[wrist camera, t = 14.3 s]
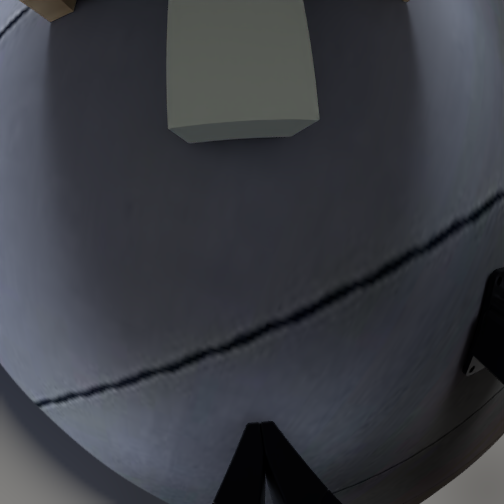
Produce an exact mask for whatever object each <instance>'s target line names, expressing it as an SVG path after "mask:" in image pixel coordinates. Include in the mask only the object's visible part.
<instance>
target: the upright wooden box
mask: <svg viewBox="0 0 504 504" xmlns="http://www.w3.org/2000/svg"><path fill="white" fill-rule="evenodd" d="M19 1H21V2H22V3H24V4H25V5H27V6H28V7H30V8H31V9H33V10H34V11H35V12H37V13H38V14H40V15H41V16H43V17H44V18H45V19H47V20H48V21H50V22H52V21H54V20H56V19H58V18H60V17H62V16H65V15H67V14H69V13H71V12H74V8H75V4H76V0H19ZM403 1H405V2H408V1H409V0H403Z"/></svg>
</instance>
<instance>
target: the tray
mask: <svg viewBox="0 0 504 504" xmlns="http://www.w3.org/2000/svg"><path fill="white" fill-rule="evenodd" d="M166 84H167V120H168V129H169V130H170V131H172V132H173V133H175V134H176V135H177V136H179V137H180V138H182V139H183V140H185V141H186V142H187V143H189V144H190V143H199V142H208V141H219V140H231V139H245V138H265V137H292V136H293V135H295V134H297V133H298V132H300V131H302V130H303V129H305V128H307V127H308V126H310V125H312V124H313V123H315V122H317V121H318V120H320V119H319V108H318V98H317V89H316V80H315V72H314V64H313V57H312V50H311V43H310V37H309V31H308V25H307V19H306V14H305V8H304V3H303V0H169V2H168V19H167V53H166Z"/></svg>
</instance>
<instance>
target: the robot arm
mask: <svg viewBox="0 0 504 504" xmlns="http://www.w3.org/2000/svg"><path fill="white" fill-rule="evenodd" d="M485 367H486V368H487V369H488V370H489V371H490V372H491V373H492V374H493V375H494V376H495V377H496V378H497V379H498V380H499V381H500V382H501V383H502V384H503V385H504V267H503V268H499V269H496V270H494V271H493V273H492V274H491V276H490V280H489V284H488V289H487V294H486V298H485V302H484V306H483V310H482V314H481V317H480V321H479V324H478V327H477V331H476V334H475V337H474V340H473V343H472V346H471V349H470V352H469V354H468V357H467V360H466V362H465V365H464V368H463V373H464V374H465V375H466V376H470V375H472V374H474V373H476V372H478V371H480V370H482V369H483V368H485ZM265 474H266V479H267V483H268V487H269V490H270V494H271V497H272V500H273V504H342V503H341V502H340V501H339V500H338V499H337V498H336V497H335V496H334V495H333V494H332V493H331V491H330V490H328V488H327V487H326V486H325V485H324V484H323V483H322V481H321V480H320V479H319V478H318V477H317V476H316V474H315V473H314V472H313V471H312V470H311V469H310V467H309V466H308V465H307V464H306V463H305V461H304V460H303V459H302V458H301V456H300V455H299V454H298V453H297V451H296V450H295V449H294V448H293V446H292V445H291V444H290V443H289V441H288V440H287V439H286V438H285V436H284V435H283V434H282V432H281V431H280V430H279V428H278V427H277V426H276V425H275V423H274V422H273V421H266V422H261V423H258V422H256V423H248V424H247V425H246V427H245V430H244V432H243V435H242V437H241V439H240V442H239V444H238V447H237V449H236V451H235V454H234V456H233V458H232V461H231V463H230V465H229V468H228V470H227V472H226V474H225V477H224V479H223V481H222V483H221V486H220V488H219V490H218V492H217V494H216V496H215V499H214V501H213V502H214V503H212V504H265V484H266V482H265ZM327 490H328V491H327Z"/></svg>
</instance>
